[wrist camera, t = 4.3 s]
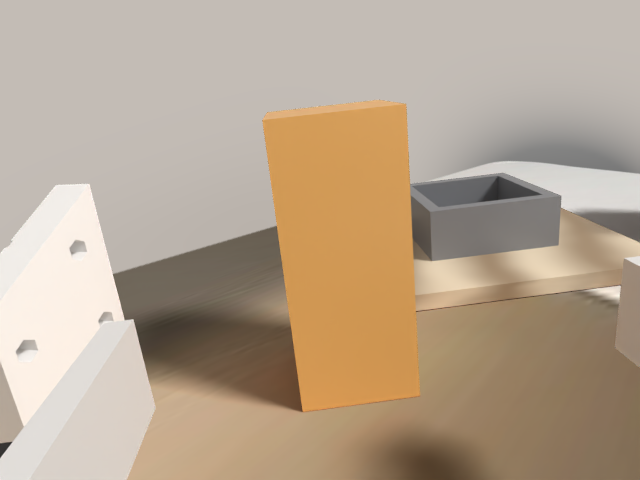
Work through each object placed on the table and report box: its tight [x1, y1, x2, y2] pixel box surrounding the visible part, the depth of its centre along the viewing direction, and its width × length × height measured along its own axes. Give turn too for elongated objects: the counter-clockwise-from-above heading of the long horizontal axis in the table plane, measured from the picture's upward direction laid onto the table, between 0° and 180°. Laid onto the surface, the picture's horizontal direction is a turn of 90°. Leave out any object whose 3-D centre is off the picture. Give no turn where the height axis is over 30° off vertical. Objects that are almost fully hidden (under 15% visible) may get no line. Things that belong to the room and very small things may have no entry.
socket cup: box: [410, 173, 561, 261], centre depth 36 cm, size 9×9×3 cm
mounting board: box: [413, 208, 640, 311], centre depth 36 cm, size 18×18×1 cm
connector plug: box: [262, 100, 420, 412], centre depth 21 cm, size 5×5×12 cm
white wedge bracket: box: [0, 184, 124, 443], centre depth 21 cm, size 4×10×9 cm, turn 161°
